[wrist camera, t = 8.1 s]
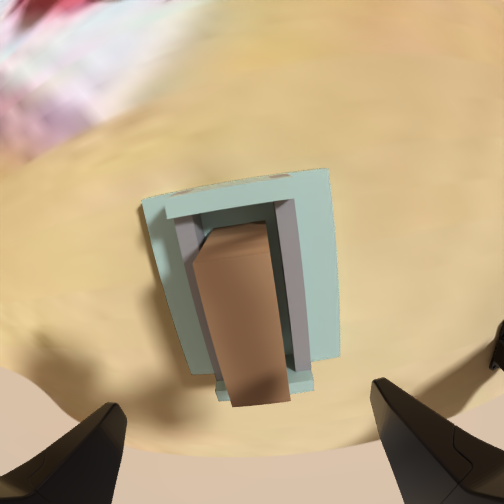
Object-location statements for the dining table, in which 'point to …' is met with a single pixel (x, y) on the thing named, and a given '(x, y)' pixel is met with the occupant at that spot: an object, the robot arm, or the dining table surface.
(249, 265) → the brown wooden block
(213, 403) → the dining table surface
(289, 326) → the light blue tray
